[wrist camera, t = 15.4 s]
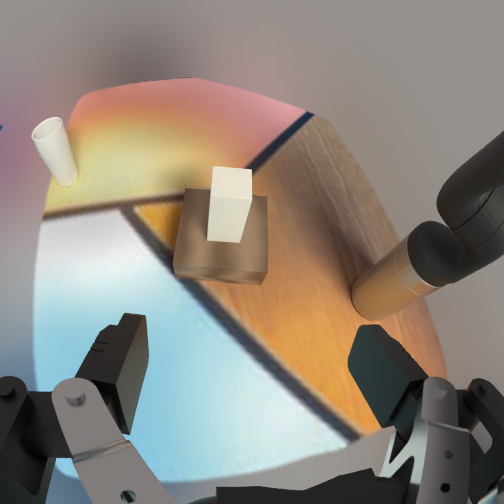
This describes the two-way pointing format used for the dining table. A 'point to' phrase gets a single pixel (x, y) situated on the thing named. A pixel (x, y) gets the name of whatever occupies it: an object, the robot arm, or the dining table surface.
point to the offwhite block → (229, 203)
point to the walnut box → (220, 244)
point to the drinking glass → (56, 150)
